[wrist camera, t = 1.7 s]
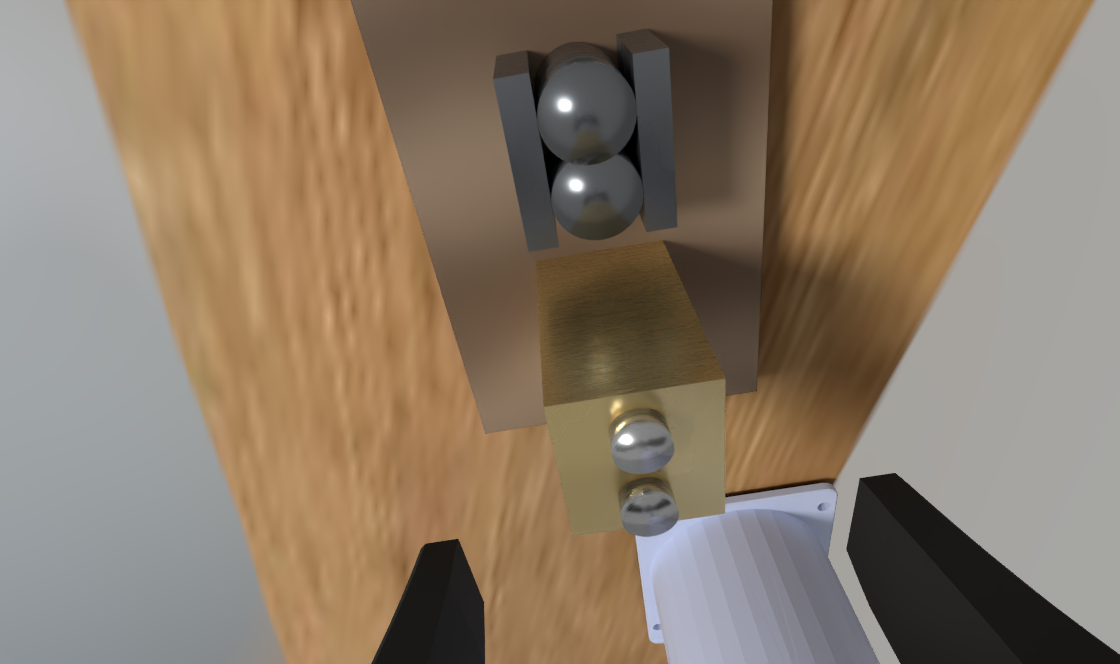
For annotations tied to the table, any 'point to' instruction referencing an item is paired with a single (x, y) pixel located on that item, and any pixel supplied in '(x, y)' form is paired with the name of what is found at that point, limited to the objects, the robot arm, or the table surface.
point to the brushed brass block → (629, 392)
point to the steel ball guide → (590, 138)
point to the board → (486, 176)
